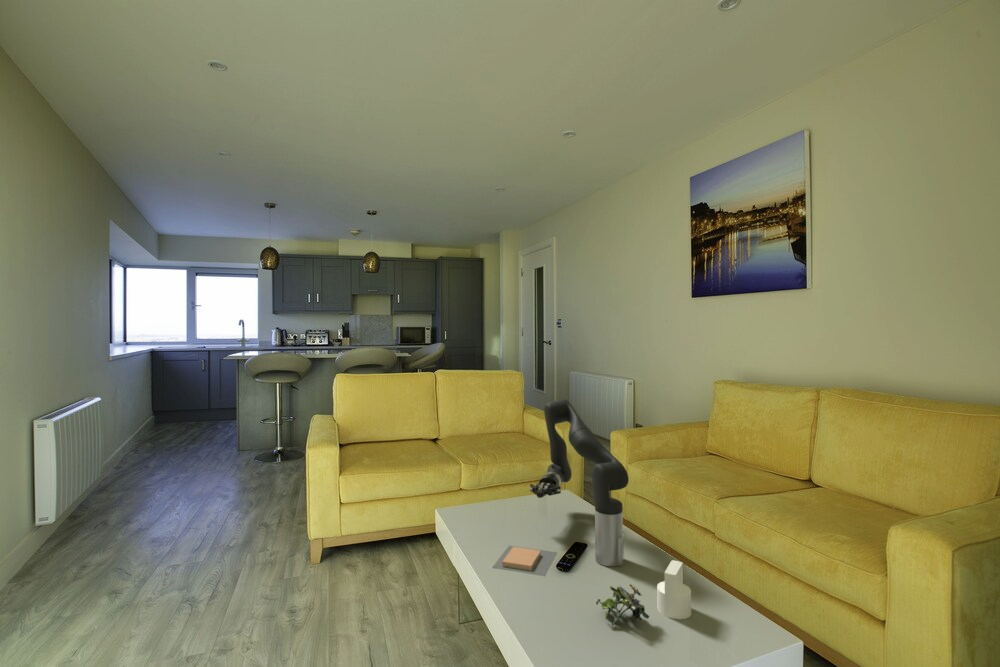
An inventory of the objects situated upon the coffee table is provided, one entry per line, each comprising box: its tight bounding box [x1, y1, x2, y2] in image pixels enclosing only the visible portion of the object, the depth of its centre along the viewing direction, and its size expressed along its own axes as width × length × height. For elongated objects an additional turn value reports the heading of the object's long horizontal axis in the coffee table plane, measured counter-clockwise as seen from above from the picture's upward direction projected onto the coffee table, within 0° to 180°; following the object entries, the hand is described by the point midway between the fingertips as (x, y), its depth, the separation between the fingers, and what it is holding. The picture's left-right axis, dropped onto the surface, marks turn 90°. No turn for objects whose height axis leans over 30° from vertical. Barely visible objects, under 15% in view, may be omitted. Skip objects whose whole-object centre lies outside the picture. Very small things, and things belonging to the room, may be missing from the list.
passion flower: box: [595, 584, 650, 626], centre depth 136 cm, size 11×11×12 cm
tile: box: [502, 546, 541, 571], centre depth 171 cm, size 10×2×12 cm
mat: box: [491, 545, 558, 577], centre depth 172 cm, size 18×18×1 cm
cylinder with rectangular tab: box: [656, 559, 692, 620], centre depth 141 cm, size 9×9×12 cm
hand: (539, 495), depth 188 cm, fingers closed
